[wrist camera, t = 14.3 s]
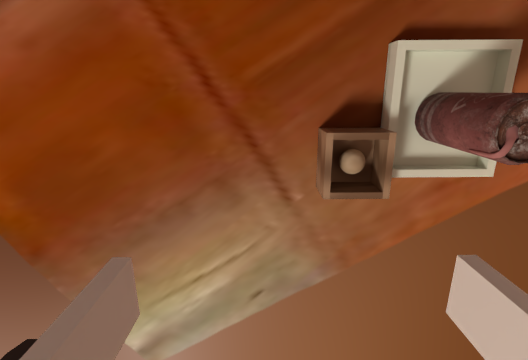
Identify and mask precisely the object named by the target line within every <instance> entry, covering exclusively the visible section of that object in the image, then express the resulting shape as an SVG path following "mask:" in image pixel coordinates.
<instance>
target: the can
mask: <svg viewBox="0 0 528 360" xmlns="http://www.w3.org/2000/svg"><path fill="white" fill-rule="evenodd" d="M415 126H416V130H417V132H418V133H419V135H420V136H421V137H423V138H424V139H425V140H428V141H431V142H434V143H438V144H441V145H444V146H448V147H451V148H454V149H458V150H461V151H464V152H467V153H471V154H474V155H477V156H481V157H484V158H487V159H491V160H494V161H497V162H501V163H504V164H507V165H519V164H523V163H528V93H476V92H439V93H436V94H433V95H431V96H429V97H428V98H427V99H425V100H424V101H423V102H422V103H421V105H420V106H419V107H418V110H417V112H416V115H415Z"/></svg>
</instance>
